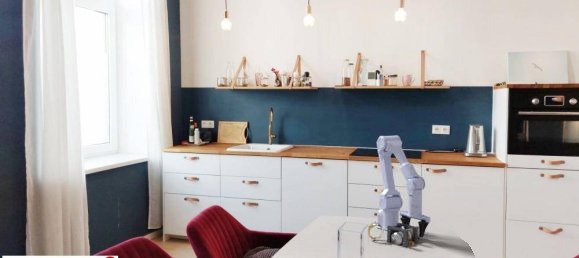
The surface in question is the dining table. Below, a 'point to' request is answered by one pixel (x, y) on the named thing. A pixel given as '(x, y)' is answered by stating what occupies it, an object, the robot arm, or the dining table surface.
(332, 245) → the dining table surface
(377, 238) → the alarm clock
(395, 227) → the black bracket with roller
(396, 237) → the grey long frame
